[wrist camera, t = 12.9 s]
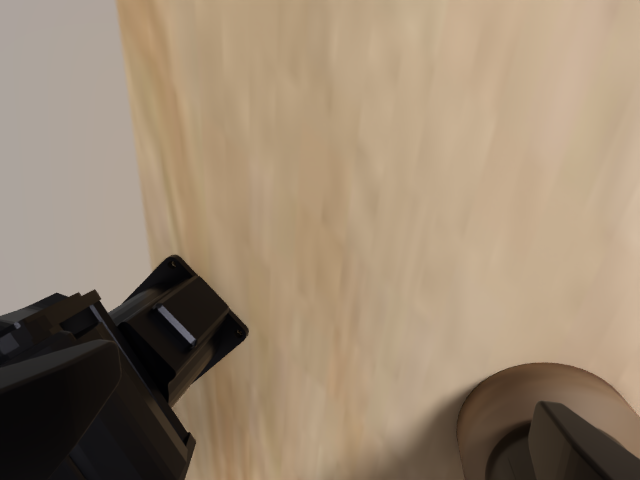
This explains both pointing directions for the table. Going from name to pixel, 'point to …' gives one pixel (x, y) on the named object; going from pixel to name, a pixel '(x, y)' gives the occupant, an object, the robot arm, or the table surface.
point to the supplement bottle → (514, 456)
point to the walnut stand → (519, 402)
